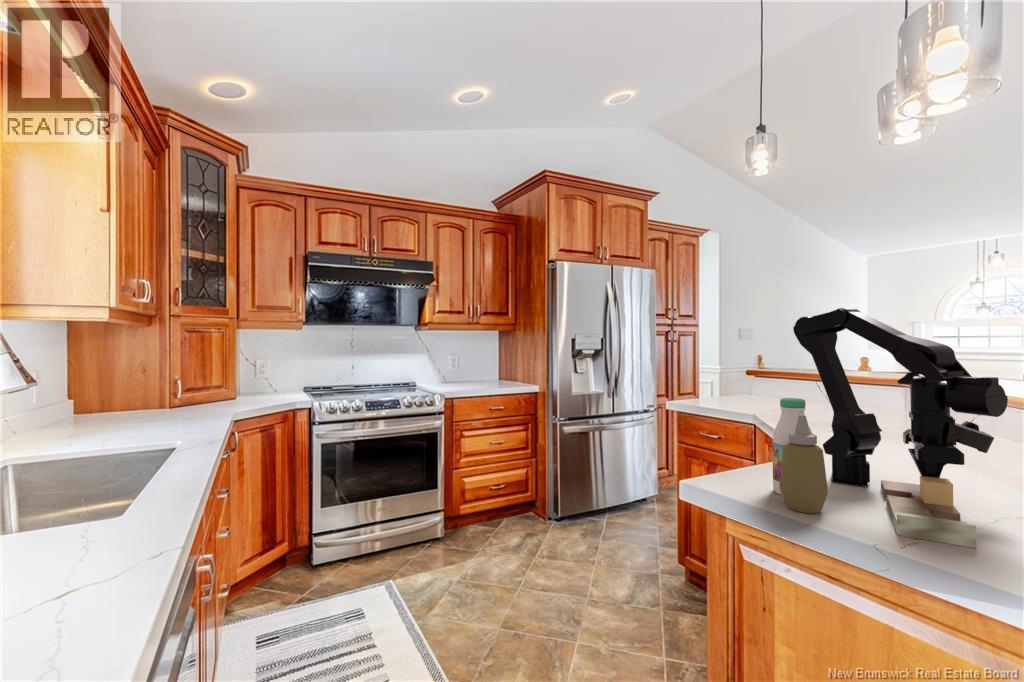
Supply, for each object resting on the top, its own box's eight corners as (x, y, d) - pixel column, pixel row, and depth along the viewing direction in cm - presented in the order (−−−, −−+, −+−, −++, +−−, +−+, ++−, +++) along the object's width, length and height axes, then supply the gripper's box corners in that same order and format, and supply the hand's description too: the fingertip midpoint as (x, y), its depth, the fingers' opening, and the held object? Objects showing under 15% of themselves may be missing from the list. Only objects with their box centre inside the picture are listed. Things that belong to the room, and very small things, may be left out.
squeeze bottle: (805, 518, 86) (804, 420, 86) (769, 504, 94) (768, 413, 93) (839, 513, 88) (838, 417, 88) (801, 499, 96) (800, 411, 96)
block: (924, 502, 87) (923, 481, 87) (920, 496, 90) (919, 475, 90) (953, 506, 85) (953, 484, 85) (948, 500, 88) (947, 478, 88)
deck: (897, 534, 78) (897, 514, 78) (881, 489, 101) (880, 473, 101) (976, 548, 73) (976, 526, 73) (940, 496, 96) (940, 480, 96)
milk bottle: (808, 488, 102) (807, 396, 102) (821, 501, 95) (820, 401, 95) (768, 486, 104) (767, 396, 104) (778, 498, 97) (777, 401, 97)
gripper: (1005, 419, 79) (1006, 513, 79) (973, 405, 94) (975, 482, 94) (917, 415, 85) (919, 501, 85) (901, 402, 100) (903, 475, 100)
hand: (931, 489), depth 91 cm, fingers closed
